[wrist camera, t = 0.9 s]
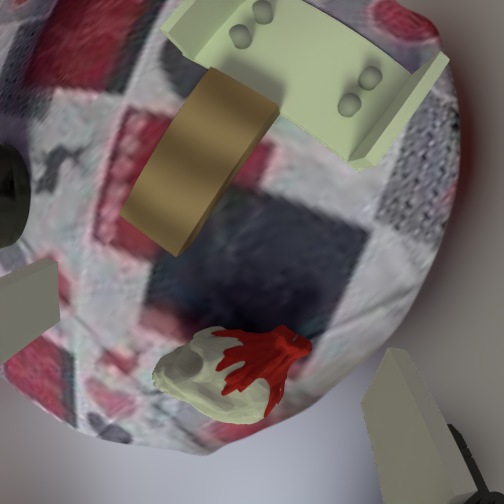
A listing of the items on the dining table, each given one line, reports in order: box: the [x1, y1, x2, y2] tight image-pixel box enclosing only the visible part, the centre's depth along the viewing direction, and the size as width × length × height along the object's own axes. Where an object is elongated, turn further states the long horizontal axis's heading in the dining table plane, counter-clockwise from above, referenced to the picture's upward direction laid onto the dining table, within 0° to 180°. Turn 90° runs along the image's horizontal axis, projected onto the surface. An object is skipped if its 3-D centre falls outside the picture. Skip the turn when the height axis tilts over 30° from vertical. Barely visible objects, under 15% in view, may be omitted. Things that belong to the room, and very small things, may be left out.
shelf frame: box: [160, 0, 450, 172], centre depth 21 cm, size 21×12×8 cm, turn 54°
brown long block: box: [119, 67, 280, 257], centre depth 27 cm, size 16×7×4 cm, turn 145°
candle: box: [152, 325, 312, 424], centre depth 29 cm, size 9×11×15 cm
